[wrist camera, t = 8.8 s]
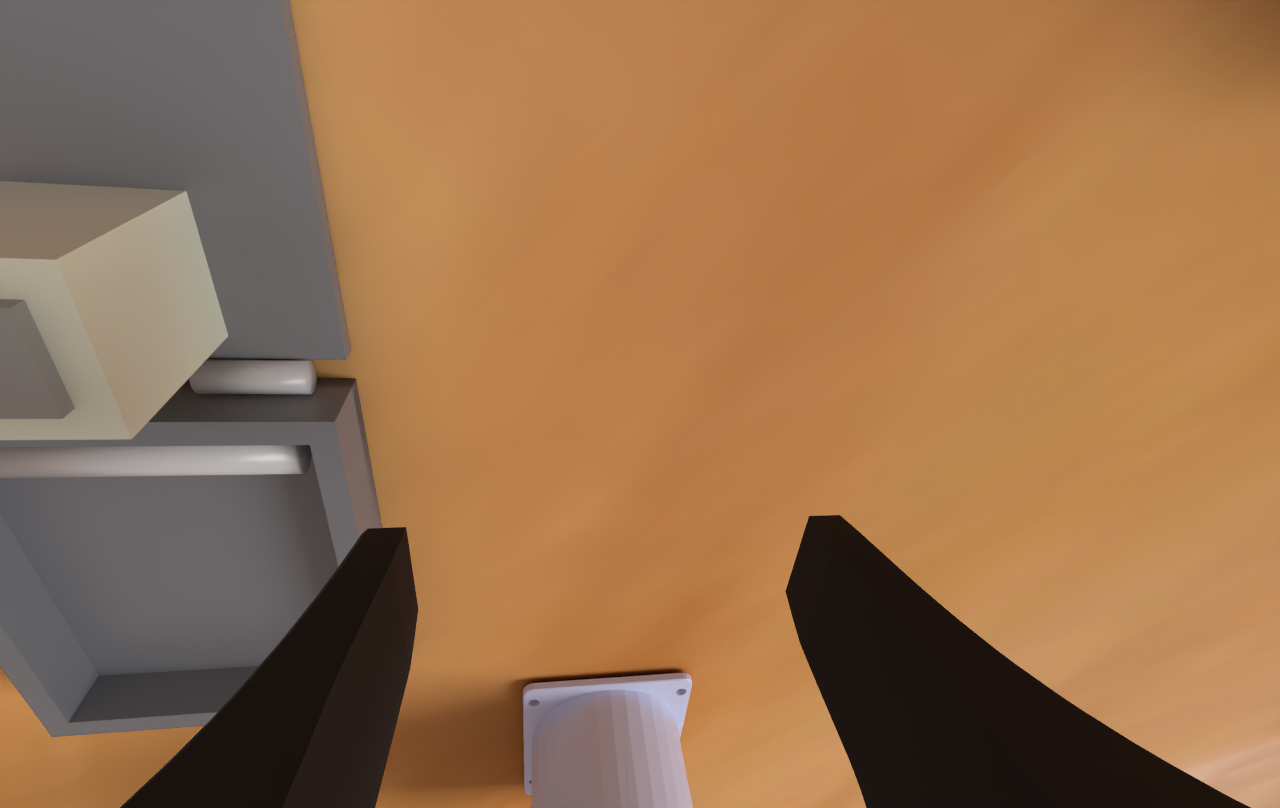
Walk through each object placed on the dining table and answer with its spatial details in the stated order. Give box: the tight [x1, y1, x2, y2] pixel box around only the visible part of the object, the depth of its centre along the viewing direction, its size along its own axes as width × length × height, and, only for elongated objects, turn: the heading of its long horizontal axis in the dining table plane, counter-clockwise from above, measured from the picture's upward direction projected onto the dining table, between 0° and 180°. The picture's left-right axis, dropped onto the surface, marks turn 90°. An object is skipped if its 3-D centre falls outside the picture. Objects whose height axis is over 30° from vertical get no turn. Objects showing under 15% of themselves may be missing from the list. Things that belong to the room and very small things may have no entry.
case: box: [0, 379, 382, 737], centre depth 21 cm, size 14×12×2 cm
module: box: [0, 181, 228, 440], centre depth 14 cm, size 4×4×5 cm
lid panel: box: [0, 0, 351, 394], centre depth 15 cm, size 11×12×1 cm
